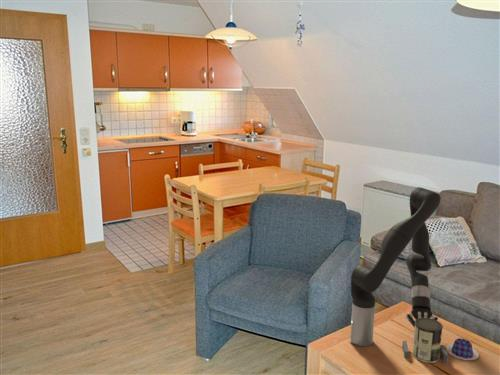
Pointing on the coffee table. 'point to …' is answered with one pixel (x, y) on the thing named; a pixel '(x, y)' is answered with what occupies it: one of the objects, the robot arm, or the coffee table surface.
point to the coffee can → (427, 340)
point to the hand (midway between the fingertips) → (423, 338)
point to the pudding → (462, 349)
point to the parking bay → (442, 352)
